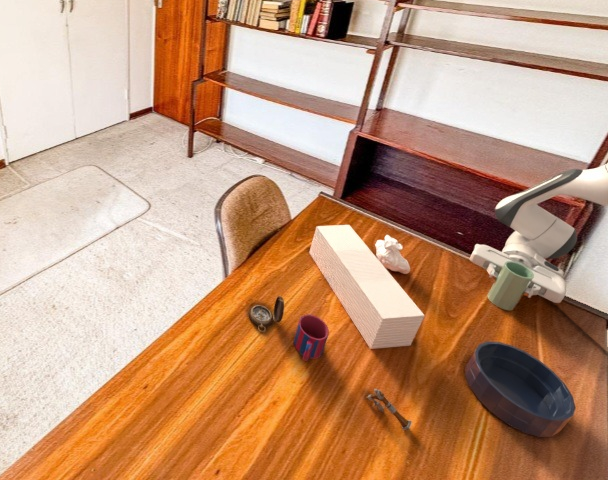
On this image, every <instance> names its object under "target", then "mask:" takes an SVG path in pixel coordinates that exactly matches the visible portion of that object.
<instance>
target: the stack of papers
mask: <svg viewBox="0 0 608 480" xmlns="http://www.w3.org/2000/svg"><path fill="white" fill-rule="evenodd" d="M309 255H310V256H311V259H312V260H313V261H314V263H315V264H316V266H317V268H318V269H319V270H320V272H321V274H322V275H323V277H324V278H325V280H326V282H327V283H328V285H329V286H330V288H331V290H332V291H333V293H334V294H335V296H336V298H337V299H338V301H339V302H340V304H341V305H342V307H343V309H344V310H345V311H346V313H347V314H348V316H349V318H350V320H351V321H352V323H353V324H354V326H355V327H356V329H357V330H358V331H359V334H360V335H361V337H362V338H363V340H364V342H365V343H366V345H367V346H368V348H369V350H376V349H385V348H386V349H387V348H397V347H410V346H412V343H413V341H414V339H415V338H416V335H417V333H418V331H419V329H420V327H421V325H422V323H423V321H424V319H425V317H426V315H425V314H424V313H423V311H422V310H421V309H420V308H419V307H418V305H416V303H415V301H413V299H412V298H411V297H410V296H409V294H408V293H407V292H406V291H405V289H403V287H402V286H401V285H400V284H399V282H398V281H397V280H396V279H395V278H394V277H393V276H392V274H391V273H390V272H389V270H388V269H387V268H385V267H384V266H383V265H382V264H381V262H380V261H379V260H378V258H377V256H376V254H374V253H373V251H372V250H371V249H370V248H369V247H368V245H367V244H366V243H365V242H364V241H363V239H362V238H361V237H360V236H359V235H358V233H357V232H356V231H355V230H354V228H352V226H351V225H350V224H335V225H334V224H333V225H317V226H315V231H314V234H313V237H312V241H311V245H310V249H309Z"/></svg>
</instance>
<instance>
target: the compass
mask: <svg viewBox="0 0 608 480" xmlns="http://www.w3.org/2000/svg"><path fill="white" fill-rule="evenodd" d="M284 310H285V301H284V298H283V297H282V296H280V295H278V296H277V297H276V299H275V302H274V308H273V313H272V310H270V308H268V307H267V306H264V305H261V304H254V305H252V306H251V307H250V308H249V311H248V317H249V319H250V321H251V322H252V323H253V324H254V325H256V326H258V327H257V329H258V331H259V332H261V333H264V332H265V331H266V328H267V327H270V326H271V325H272V324H273V323H274V322H275V323H278V324H279V323H281V321H282V320H283V317H284V312H285V311H284ZM260 328H262V329H263V328H264V330H260Z"/></svg>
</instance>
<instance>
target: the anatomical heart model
mask: <svg viewBox="0 0 608 480" xmlns="http://www.w3.org/2000/svg"><path fill="white" fill-rule="evenodd" d="M374 245H375V246H374V247H375V251H376V254H375V256H376V258H377V259H378V260H379V261H380V262H381V264H382V265H383V266H384V267H385V268H386V270H390V271H392V272H399V273H401V274H402V275H407V274H409V273H410V271H411V266H410V263H409V262H408V259H406V258H404V256H402V253H401V250H403V247H404V246H403V244H402V243H399V242H398V239H396V238H394V237H392V236H391V235H389V234H386V235H385V236H384V239H383V240H382V239H377V241H376V243H375V244H374Z"/></svg>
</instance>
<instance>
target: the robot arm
mask: <svg viewBox="0 0 608 480" xmlns="http://www.w3.org/2000/svg"><path fill="white" fill-rule="evenodd" d="M558 196H568V197H573V198H574V197H575V198H578V199H581V200H582V199H583V200H585V201H588V202H591V203H595V204H597V205H600V206H603V207H608V162H607V163H605V164H603V165H600V166H597V167H595V168H589V169H588V168H587V169H580V168H572V169H567V170H565V171H563V172H561V173H558V174H556V175H553V176H551V177H549V178H547V179H545V180H543V181H540V182H539V183H537V184H534V185H532V186H531V187H529V188H526V189H524V190H522V191H519V192H516V193H514V194H511V195H509V196H506V197H504V198H502V200H500V201H499V202H498V203H497V204H496V206H495V207H494V215H495V216H496V219H497V221H498V222H500V223H501V224H503V225H505V226H506V227H508V228H511V229H512V230H513V232H512V233H510V235H509V236H508V238H507V239H506V241H505V244H504V247H503V248H502V250H498V249H496V248H494V247H492V246H489V245H487V244H479V243H476V244H474V246H473V251H472V253H471V254H470V257H469V261H470V262H471V263H472V264H474V265H476V266H478V267H480V268H483V269H484V270H486V272H487V273H488V275H489V276H488V278H489V279H491V280H493V281H495V280H496V278H497V277H498V274H499V272H500V271H501V269H502V267H503V265H504V263H505V262H507V261H513V262H517V263H519V264H522V265H524V266H525V267H527V268H528V269H530V270H531V271H532V273H533V274H534V278H533V279H532V281H531V282H530V284H529V286H528V287H527V289H526V290H525V292H524V293H523V295H522V296H525V297H527V298H529V299H531V298H532V296H537V295H538V296H539V297H542V298H544V299H546V300H548V301H550V302H552V303H554V304H560V303H561V302H562V301H563V300H564V298H565V297H566V293H567V283H566V280H565V279H564V278H563V277H564V274H565V272H564V270H562V269H561V268H560V267H558V266H556V265H554V264H552V263H551V262H550V261H548V260H555V259H559V258H562V257H564V256H565V255H567V254H568V253H570V252H571V251H572V250H573V248H574V247H575V246H576V244H577V242H578V233H577V230H576V228H575V227H573V226H572V225H570V224H569V223H567V222H566V221H564V220H562V219H561V218H559V217H557V216H556V215H554V214H553V213H551V212H549V211H547V210H546V209H544V208H543V207H541V206H540V205H538V204H541V203H543V202H545V201H547V200H549V199H552V198H554V197H558Z"/></svg>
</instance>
